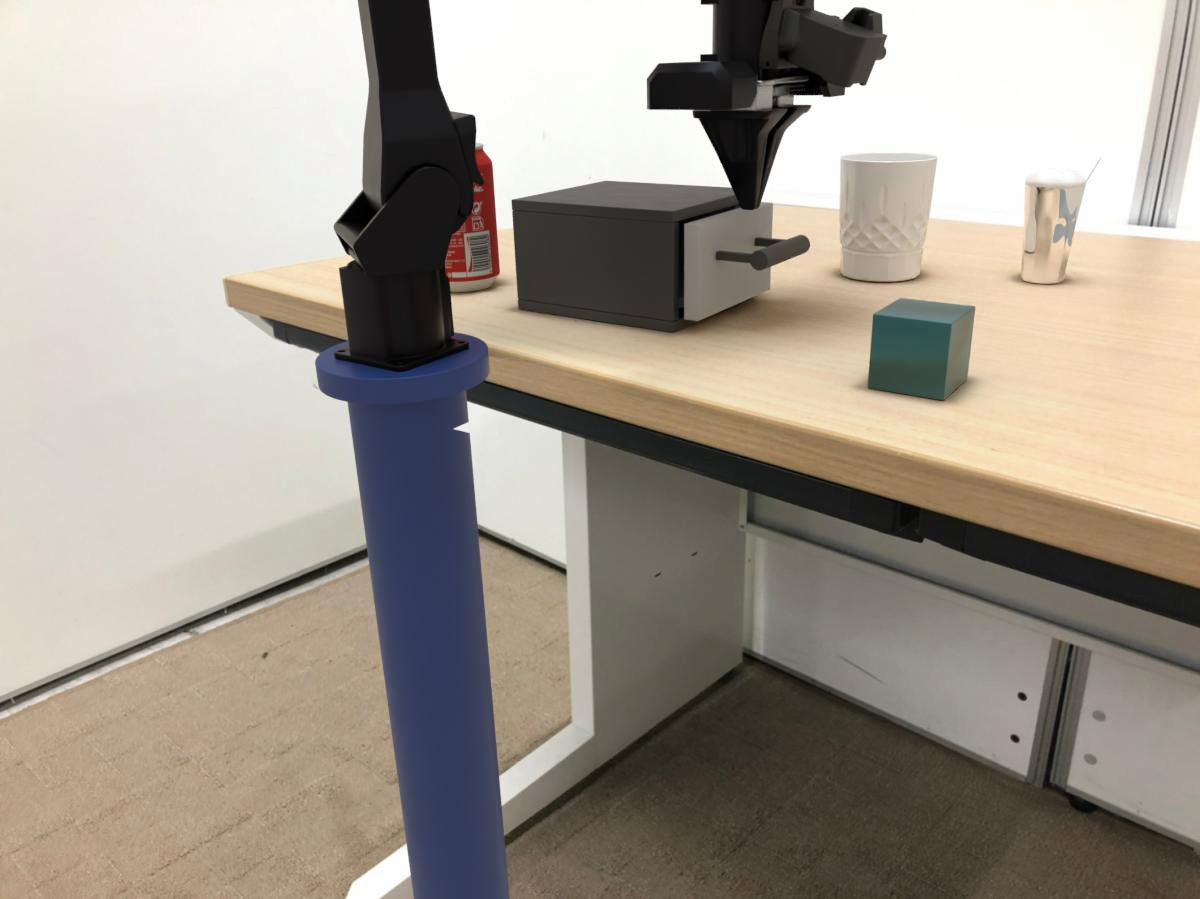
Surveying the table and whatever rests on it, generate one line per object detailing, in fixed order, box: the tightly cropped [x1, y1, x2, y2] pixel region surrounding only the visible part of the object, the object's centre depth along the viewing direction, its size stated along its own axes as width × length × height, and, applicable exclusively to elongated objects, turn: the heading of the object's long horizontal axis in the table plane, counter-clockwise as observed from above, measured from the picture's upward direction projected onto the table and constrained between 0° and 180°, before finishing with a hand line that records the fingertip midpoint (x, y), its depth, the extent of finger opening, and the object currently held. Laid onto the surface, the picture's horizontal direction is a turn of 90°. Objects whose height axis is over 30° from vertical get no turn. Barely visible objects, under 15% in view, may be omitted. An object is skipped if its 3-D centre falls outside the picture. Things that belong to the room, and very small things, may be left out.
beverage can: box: [445, 142, 501, 293], centre depth 85 cm, size 6×6×12 cm
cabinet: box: [511, 180, 749, 333], centre depth 78 cm, size 15×13×9 cm
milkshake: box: [1020, 157, 1102, 285], centre depth 81 cm, size 5×5×10 cm
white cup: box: [838, 151, 939, 283], centre depth 85 cm, size 8×8×10 cm
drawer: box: [678, 201, 811, 322], centre depth 76 cm, size 18×11×7 cm, turn 55°
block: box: [867, 297, 976, 401], centre depth 58 cm, size 4×4×4 cm
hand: (750, 209), depth 71 cm, fingers closed
